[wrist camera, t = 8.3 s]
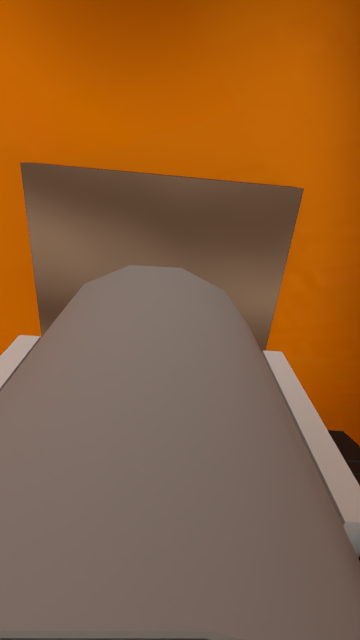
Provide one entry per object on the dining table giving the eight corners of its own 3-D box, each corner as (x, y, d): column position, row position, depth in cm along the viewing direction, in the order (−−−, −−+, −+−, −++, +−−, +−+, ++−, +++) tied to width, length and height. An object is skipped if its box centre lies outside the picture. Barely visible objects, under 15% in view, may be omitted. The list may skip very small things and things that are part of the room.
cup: (109, 454, 16) (23, 845, 7) (9, 315, 12) (-448, 732, 3) (275, 401, 14) (446, 795, 5) (215, 229, 11) (405, 524, 2)
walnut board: (32, 162, 13) (20, 162, 12) (293, 186, 14) (303, 188, 13) (60, 419, 19) (53, 434, 18) (239, 428, 20) (242, 443, 19)
